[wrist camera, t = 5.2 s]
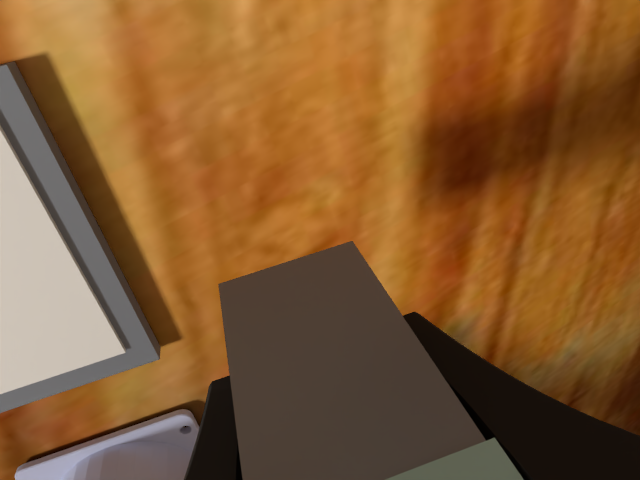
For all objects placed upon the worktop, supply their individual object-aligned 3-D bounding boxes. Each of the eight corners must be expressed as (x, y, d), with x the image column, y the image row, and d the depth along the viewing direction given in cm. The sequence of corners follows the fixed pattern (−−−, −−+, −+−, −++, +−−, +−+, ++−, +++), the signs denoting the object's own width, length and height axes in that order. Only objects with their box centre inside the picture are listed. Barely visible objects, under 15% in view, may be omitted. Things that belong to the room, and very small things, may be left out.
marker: (377, 343, 15) (551, 662, 8) (255, 386, 14) (324, 764, 7) (355, 236, 13) (558, 530, 6) (213, 282, 12) (253, 656, 5)
